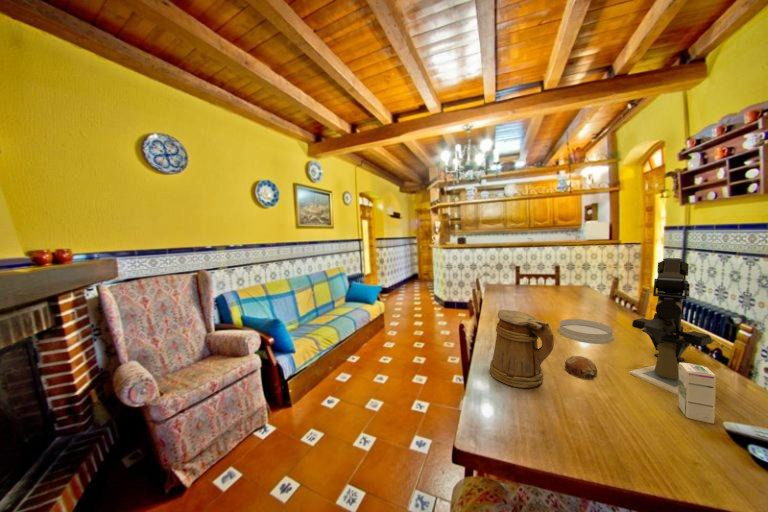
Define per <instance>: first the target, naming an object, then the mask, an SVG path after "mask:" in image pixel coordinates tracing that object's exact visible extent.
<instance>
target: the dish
mask: <svg viewBox="0 0 768 512" xmlns="http://www.w3.org/2000/svg"><path fill="white" fill-rule="evenodd" d="M558 327H559V328H558V332H559V334H560V335H561V336H563V337H564V338H567V339H569V340H573V341H576V342H580V343H585V344H594V345H604V344H609V343H613V340H614V335H613V333H614V332H613V328H611V327H610V326H608V325H607V324H604V323H602V322H597V321H593V320H589V319H580V318H568V319H562V320H560V321H559V326H558Z"/></svg>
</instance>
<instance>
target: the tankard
mask: <svg viewBox="0 0 768 512" xmlns="http://www.w3.org/2000/svg"><path fill="white" fill-rule="evenodd" d="M497 318H498V322H497V323H496V327H495V332H496V337H495V343H494V349H493V354H492V355H493V356H492V359H491V361H490V364H489V372H490V374H491V376H492V377H493V378H494V379H496V380H497V381H499V382H500V383H503V384H505V385H508V386H511V387H515V388H522V389H531V388H535V387H536V386H539V385H541V384H542V383H543V381H544V369H543V367H542V366H541V365H542V363H543V362H544V361H545V360H547V358H548V357H549V356H550V355H551V353H552V352H553V349H554V347H555V338H554V333H553V331H552V328H551V327H550V324H549V322H547V321H543V320H540V319H537V318H536V317H535V316H534V315H531V314H529V313H527V312H524V311H520V310H511V309H510V310H509V309H507V310H505V309H500V310H499V311H498V312H497ZM539 339H540V340H541V346H540V347H539V346H538V340H539Z"/></svg>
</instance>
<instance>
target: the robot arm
mask: <svg viewBox="0 0 768 512" xmlns="http://www.w3.org/2000/svg"><path fill="white" fill-rule="evenodd" d="M662 259H663V260H661V261H659V262H658V263H657V278H654V280H653V281H654V282H653V292H652V293H653V294H652V296H653V297H657V302H656V305H655V313H654V315H653V318H652V319H647V318H644V317H642V318H637V319H633V320H632V322H631V326H632V328H635V329H639V330H641V332H643V333H645V334H646V335H648V336H649V339H650V340H651V342H652V345H653V346H654V349H655V350H656V351H657V352H658V353H655V354H653V355H654V356H655V357H656V358H658V354H659V351H658V350H657V345H658V344H660V343H668V344H672V345H674V346H676V359H677V363H679V362H681V361H685V358H683V357H681V356H682V355H683V353H684V352H685V351H686V350H687V348H688V347H690V345H694V346H700V347H702V346H706V345H711V344H712V343H713V339H712V337H711V336H710V334H708V333H703V332H699V331H696V330H693V331H689V332H686V331H684V326H683V325H682V319H684V317H685V315H684V314H682V312H683V311H682V310H683V300H687V298H688V297H690V293H691V292H690V290H691V289H690V285H691V284H690V283H689V281H688V280H686V277H688V276H689V268H690V267H689V263H688V262H685V261H683V259H682V258H678V257H665V258H662ZM683 294H684V295H683Z"/></svg>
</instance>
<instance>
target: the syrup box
mask: <svg viewBox="0 0 768 512" xmlns="http://www.w3.org/2000/svg"><path fill="white" fill-rule="evenodd" d="M678 372H679V379H678V395H677V407H678V409H679V410H680V411H681V413H682V414H683V415H684V417H685V418H687V419H692V420H694V421H699V422H703V423H709V424H712V425H713V424H715V415H716V389H717V387H716V386H717V385H716V384H717V382H716V380H717V376H716V373H713V372H712V370H710V368H708V367H707V366H706V365H702V364H695V363H689V362H681V361H678Z"/></svg>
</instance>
